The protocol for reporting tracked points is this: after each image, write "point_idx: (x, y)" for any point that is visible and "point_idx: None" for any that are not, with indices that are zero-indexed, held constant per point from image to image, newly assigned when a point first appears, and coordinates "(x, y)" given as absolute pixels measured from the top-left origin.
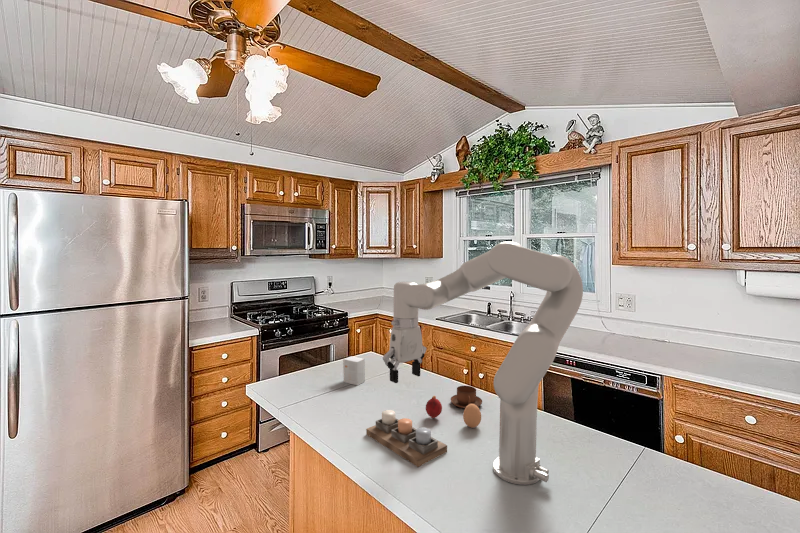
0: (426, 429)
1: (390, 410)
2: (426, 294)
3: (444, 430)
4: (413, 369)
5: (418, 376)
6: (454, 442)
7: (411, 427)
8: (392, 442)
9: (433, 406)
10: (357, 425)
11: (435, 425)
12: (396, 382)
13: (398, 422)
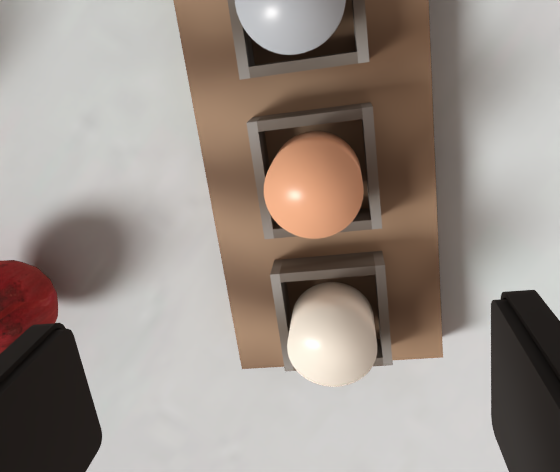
0: (254, 3)
1: (301, 368)
2: None
3: (55, 146)
4: (60, 470)
5: (65, 329)
6: (76, 3)
7: (291, 142)
8: (418, 153)
9: (8, 295)
10: (417, 434)
11: (70, 217)
12: (533, 295)
13: (359, 206)
